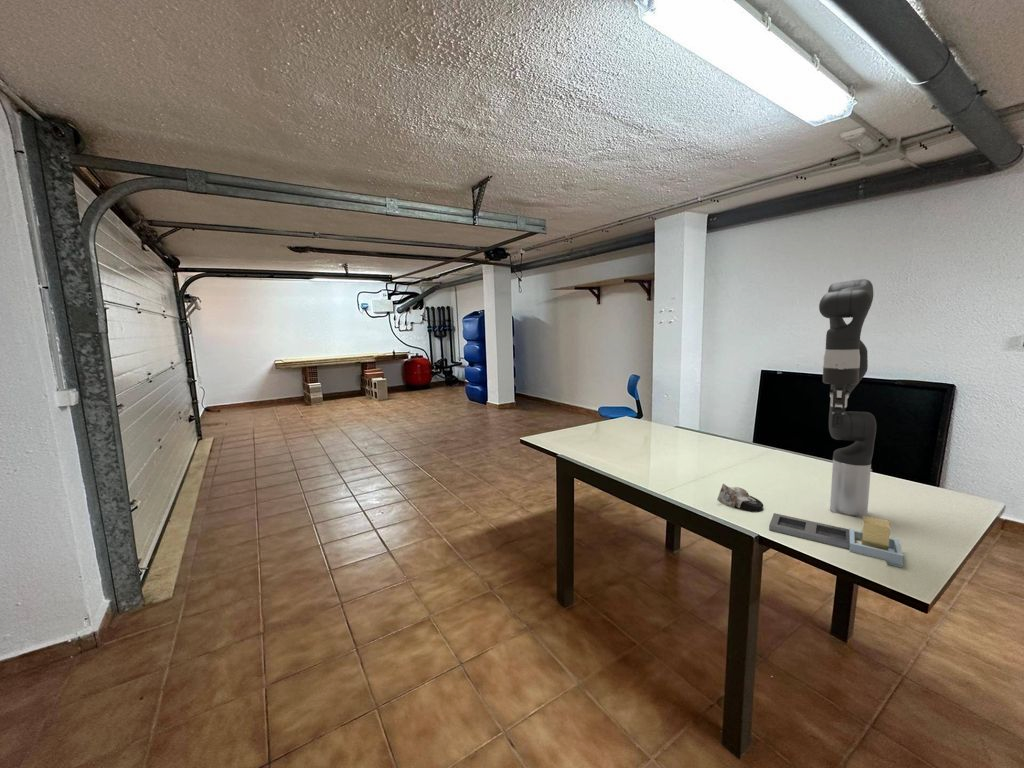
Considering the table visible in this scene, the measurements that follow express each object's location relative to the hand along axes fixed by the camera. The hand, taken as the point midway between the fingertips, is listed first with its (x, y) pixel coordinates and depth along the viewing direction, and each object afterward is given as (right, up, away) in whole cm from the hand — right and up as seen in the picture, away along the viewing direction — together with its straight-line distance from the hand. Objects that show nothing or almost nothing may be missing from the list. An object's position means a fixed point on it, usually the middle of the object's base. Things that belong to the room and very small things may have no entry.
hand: (837, 425), depth 108 cm
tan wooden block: (+7, -33, -4) cm, 34 cm away
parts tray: (+7, -34, -4) cm, 34 cm away
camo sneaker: (-11, -31, +26) cm, 42 cm away
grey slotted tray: (-3, -33, +6) cm, 33 cm away
